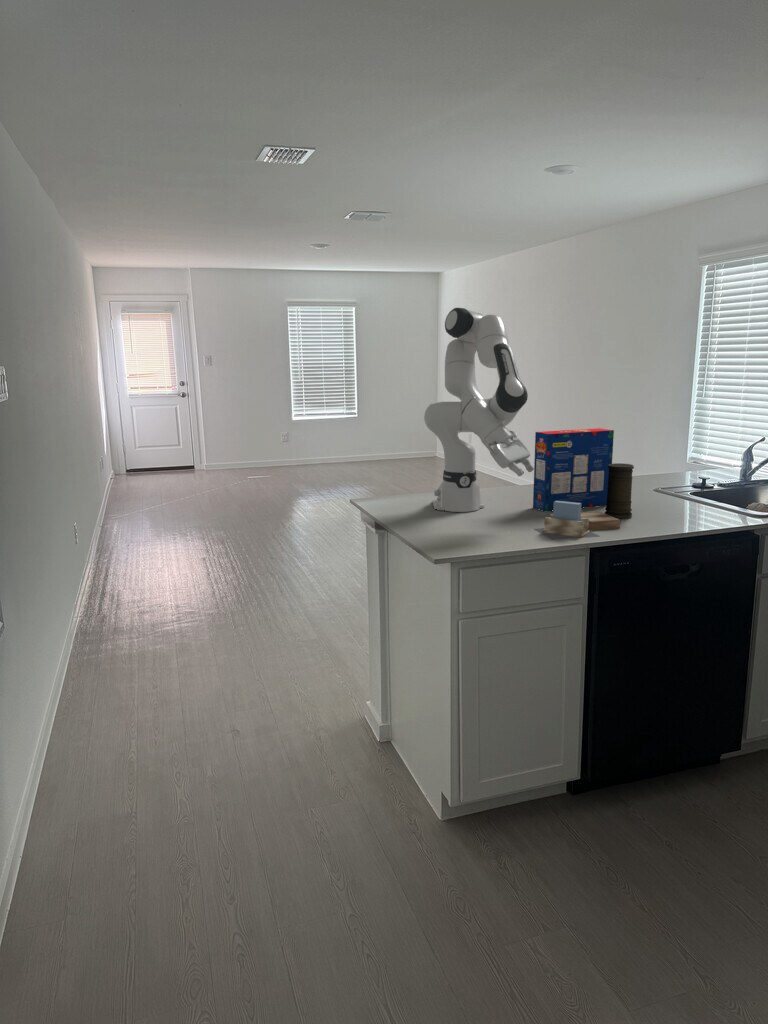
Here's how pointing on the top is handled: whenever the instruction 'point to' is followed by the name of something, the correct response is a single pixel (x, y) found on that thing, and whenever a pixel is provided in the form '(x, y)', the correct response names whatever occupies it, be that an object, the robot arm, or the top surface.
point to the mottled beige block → (566, 526)
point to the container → (619, 491)
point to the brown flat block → (600, 520)
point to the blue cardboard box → (572, 467)
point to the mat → (558, 536)
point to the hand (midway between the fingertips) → (526, 472)
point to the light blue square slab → (567, 510)
